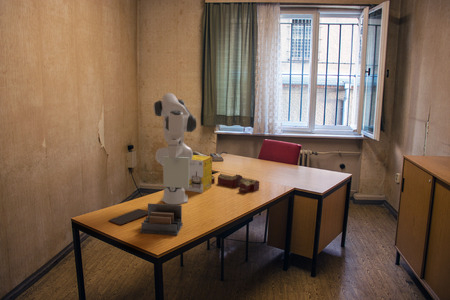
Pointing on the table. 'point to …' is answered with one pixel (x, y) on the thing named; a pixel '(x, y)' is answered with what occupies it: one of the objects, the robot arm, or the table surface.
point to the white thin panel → (176, 172)
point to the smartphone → (129, 217)
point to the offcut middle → (163, 215)
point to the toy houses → (237, 182)
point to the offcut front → (160, 220)
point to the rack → (163, 228)
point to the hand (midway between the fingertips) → (176, 162)
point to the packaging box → (200, 173)
